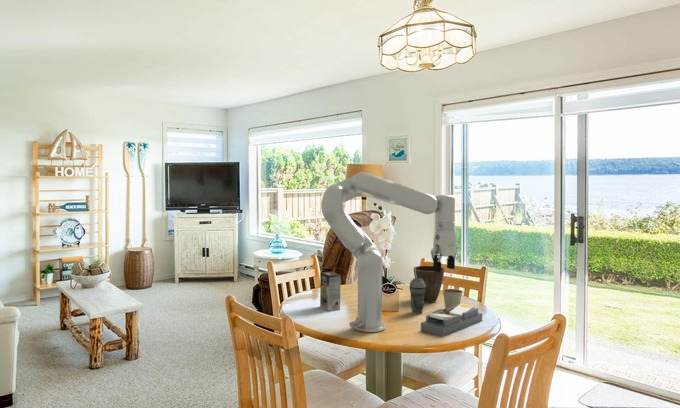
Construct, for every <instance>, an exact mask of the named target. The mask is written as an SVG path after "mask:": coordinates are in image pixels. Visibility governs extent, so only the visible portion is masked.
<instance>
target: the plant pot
mask: <svg viewBox="0 0 680 408" xmlns="http://www.w3.org/2000/svg"><path fill="white" fill-rule="evenodd" d="M412 268H413V274H414V275H413V276H414V277H415V268H416V276H417V278H421V279H422V280H423V281H424V282H425V286H426V288H425V293H424V303H435V302H437V300H438V297H439V295H440V292H441V289H442V285H443V279H444V275H445V268H444V267H441V272H435V271H433V265H418V266H415V267H414V266H413V267H412Z"/></svg>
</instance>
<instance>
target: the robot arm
mask: <svg viewBox="0 0 680 408" xmlns="http://www.w3.org/2000/svg"><path fill="white" fill-rule="evenodd" d="M361 195H362V196H363V195H364V196H366V197H370V198H373V199H376V200H378V201H382V202H385V203H388V204H390V205H395V206H401V207H403V208H407V209H410V210H412V211H415V212H418V213H420V214H421V213H422V214H424V215H431V214H434V236H433V247H432V249H431V250H430V254H431V258H432V259H431V260H432V263H433V265H432V266H433V271H435V272H441V268H442V261H441V260H442V258H443V257H447V258H446V268H447V269H451V270H455V267H456V264H455V263H456V255H457V253H458V252H457V250H458V246H457V236H456V235H457V234H456V229H455V226H456V225H455V223H456V222H455V221H456V217H455V215H456V197H455V196H454V195H452V194H451V195H450V194H438V195H433V194H430V193H426V192H423V191H421V190H417V189H414V188H412V187H408V186H406V185H403V184H401V183H398V182H396V181H393V180H390V179H387V178H384V177H380V176H378V175H375V174H372V173H368V172H365V171H359V172H358V173H356V174H354V175H352V176H351V177H348V178H346V179H344V180H342V181H340V182H337V183H333V184H331V185H329V186H328V187H327V188H326V189H325V191H324V193H323V195H322V197H321V198H322V199H321V204H320V205H321V206H320V209H321V213H322V216H323V218H324V219H325V221H326V223H327V224H328V225H329V227H330V229H332V231H333V232H334V234H335V235H336V236H337V237H338V239H339V240H340V242H341V243H342V244H343V246H344V247H345V249H348V251H350V253H351V255H353V256H354V258H355V259H356V261H357V317H355V320H354V321H350V322H349V323H348V325H349V327H350V328H353V329H354V330H356V331H359V332H362V333H363V332H364V333H377V332H383V331H385V330H386V324H385V323H384V322H382V321H383V320H382V315H383V313H382V312H383V309H382V307H383V305H382V303H383V268H384V266H383V265H384V262H383V261H384V260H383V256H382V253H381V252H380V250H379V249H378V247H377V246H376V245H375V244H374V243H373V241H372V240H371V239H370V237H369V236H368V234H367V233H366V232H365V231H364V229H362V228H361V226H359V225H357V224H356V223H355V221H354V220H353V219H352V218H351V216H350V215H349V213H348V212H347V211H346V209H345V208H344V203H346V202H348V201H350V200H353V199H356V198H358V197H360V196H361Z"/></svg>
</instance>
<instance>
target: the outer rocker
mask: <svg viewBox="0 0 680 408" xmlns="http://www.w3.org/2000/svg"><path fill="white" fill-rule="evenodd" d="M475 308H476V307H475V306H474V305H472V304H468V303H461V302H460V305H458V306H457V307H455V308H454V309H453V310H451V311H450V312H449V315H452V316H455V315H458V314H459V315H461V318H462V313H464V312H466V311H469V310H472V309H475Z"/></svg>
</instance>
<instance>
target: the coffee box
mask: <svg viewBox="0 0 680 408" xmlns="http://www.w3.org/2000/svg"><path fill="white" fill-rule="evenodd" d="M319 273H320V275H319V277H320V280H319V281H320V287H319V288H320V290H319V291H320V292H319V293H320V297H319V301H320V302H319V307H320V308H322V309H324V310H326V311H327V312H333V311H340V310H341V287H342V286H341V282H342V281H341V279H342V276H341V274H339V273H336V272H333V271H322V272H319Z"/></svg>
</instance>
